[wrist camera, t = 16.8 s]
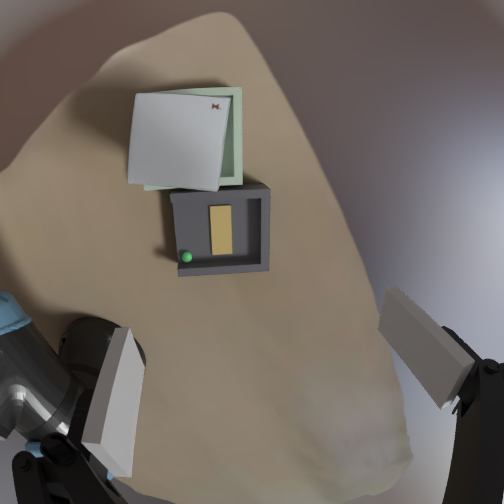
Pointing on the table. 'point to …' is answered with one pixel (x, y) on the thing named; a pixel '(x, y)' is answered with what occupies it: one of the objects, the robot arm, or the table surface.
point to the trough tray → (233, 136)
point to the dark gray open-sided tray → (222, 229)
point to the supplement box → (177, 140)
